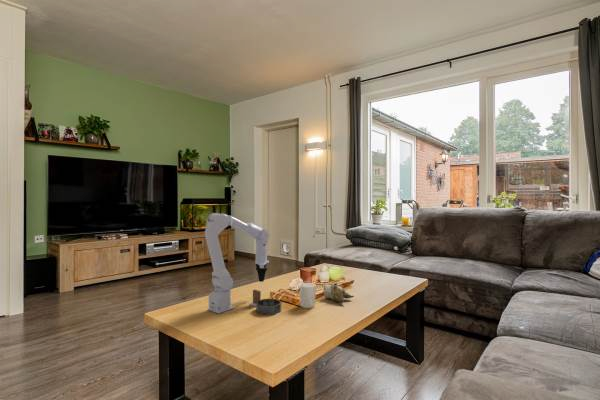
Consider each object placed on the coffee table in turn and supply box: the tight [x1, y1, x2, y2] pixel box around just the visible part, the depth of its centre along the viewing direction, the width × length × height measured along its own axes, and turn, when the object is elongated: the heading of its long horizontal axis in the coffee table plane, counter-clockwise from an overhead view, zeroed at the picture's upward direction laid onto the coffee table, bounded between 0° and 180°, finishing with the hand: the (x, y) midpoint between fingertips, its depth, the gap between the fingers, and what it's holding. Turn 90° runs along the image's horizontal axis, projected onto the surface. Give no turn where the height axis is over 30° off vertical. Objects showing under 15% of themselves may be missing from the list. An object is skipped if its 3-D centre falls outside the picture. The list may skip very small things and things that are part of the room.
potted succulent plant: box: [323, 283, 355, 303], centre depth 166 cm, size 11×9×15 cm
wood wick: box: [249, 289, 262, 308], centre depth 158 cm, size 5×5×7 cm
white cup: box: [298, 282, 317, 309], centre depth 157 cm, size 8×8×10 cm
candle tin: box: [255, 298, 282, 316], centre depth 151 cm, size 11×11×4 cm
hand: (261, 279), depth 167 cm, fingers open, 7 cm apart
